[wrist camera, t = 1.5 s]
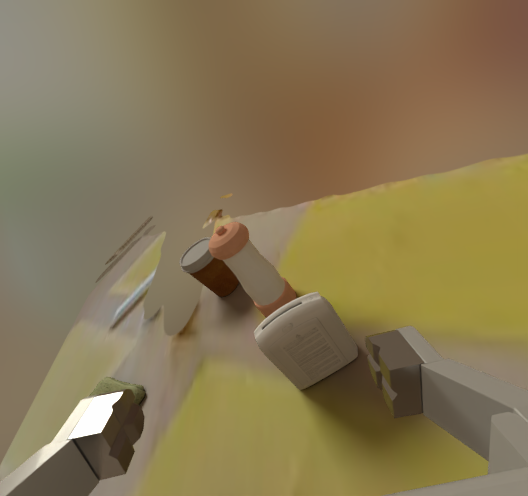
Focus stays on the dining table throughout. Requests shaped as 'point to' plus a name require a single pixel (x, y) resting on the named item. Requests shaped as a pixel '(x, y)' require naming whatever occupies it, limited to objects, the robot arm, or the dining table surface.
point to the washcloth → (118, 388)
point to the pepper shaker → (251, 268)
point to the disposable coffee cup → (208, 268)
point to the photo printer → (306, 340)
